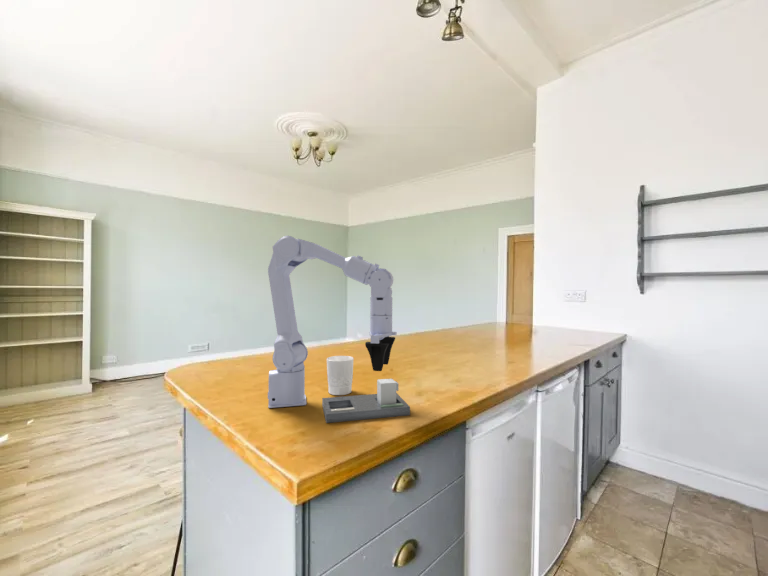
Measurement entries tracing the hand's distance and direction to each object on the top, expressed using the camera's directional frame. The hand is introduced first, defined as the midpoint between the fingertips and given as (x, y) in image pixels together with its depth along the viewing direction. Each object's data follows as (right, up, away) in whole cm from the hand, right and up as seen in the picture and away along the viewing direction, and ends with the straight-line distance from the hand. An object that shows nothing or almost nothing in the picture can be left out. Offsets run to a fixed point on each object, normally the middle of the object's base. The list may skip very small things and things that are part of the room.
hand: (380, 367), depth 90 cm
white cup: (-12, -10, +13) cm, 20 cm away
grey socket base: (-4, -10, -3) cm, 11 cm away
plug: (+2, -10, -1) cm, 10 cm away
